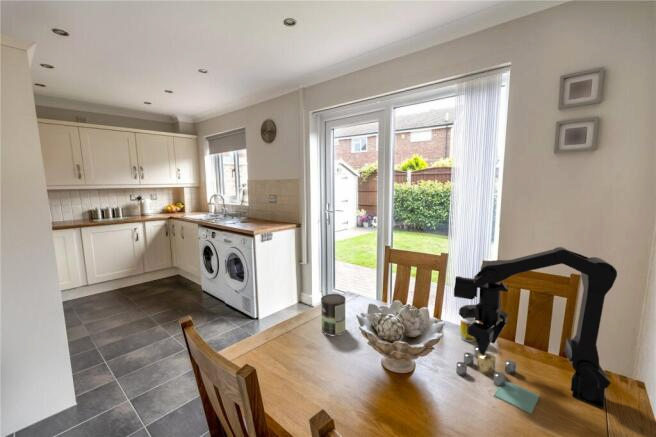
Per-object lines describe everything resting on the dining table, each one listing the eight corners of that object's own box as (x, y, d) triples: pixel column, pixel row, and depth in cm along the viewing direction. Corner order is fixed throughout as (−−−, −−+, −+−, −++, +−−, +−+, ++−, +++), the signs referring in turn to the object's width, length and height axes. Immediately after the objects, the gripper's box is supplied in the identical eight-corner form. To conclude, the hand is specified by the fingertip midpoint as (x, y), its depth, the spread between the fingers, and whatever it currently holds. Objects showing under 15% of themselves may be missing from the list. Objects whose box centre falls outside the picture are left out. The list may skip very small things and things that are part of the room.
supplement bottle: (465, 343, 109) (466, 317, 108) (457, 335, 114) (457, 311, 113) (478, 341, 110) (480, 316, 108) (469, 334, 115) (470, 310, 114)
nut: (497, 371, 92) (497, 355, 92) (491, 378, 89) (492, 362, 88) (480, 364, 96) (481, 349, 95) (475, 370, 93) (475, 355, 92)
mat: (539, 396, 81) (539, 395, 81) (531, 414, 75) (531, 412, 75) (503, 381, 87) (503, 379, 87) (493, 396, 81) (493, 394, 81)
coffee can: (322, 337, 115) (322, 304, 113) (320, 325, 125) (320, 294, 124) (347, 335, 116) (347, 302, 115) (343, 323, 126) (343, 293, 125)
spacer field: (518, 369, 93) (518, 361, 92) (501, 395, 82) (502, 385, 81) (473, 352, 103) (473, 344, 103) (453, 372, 92) (453, 363, 92)
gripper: (474, 288, 102) (472, 329, 104) (451, 303, 90) (449, 349, 91) (509, 296, 94) (507, 341, 96) (489, 314, 81) (487, 365, 83)
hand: (487, 348), depth 92 cm, fingers open, 9 cm apart
